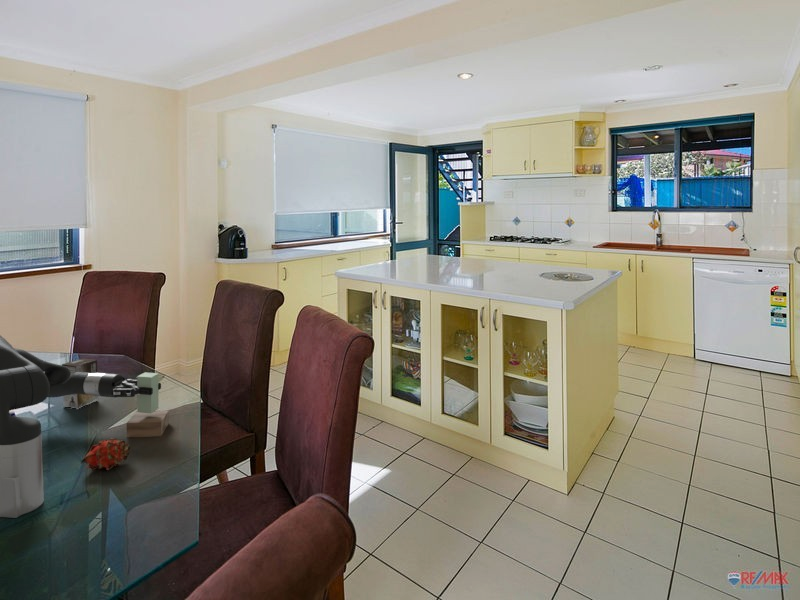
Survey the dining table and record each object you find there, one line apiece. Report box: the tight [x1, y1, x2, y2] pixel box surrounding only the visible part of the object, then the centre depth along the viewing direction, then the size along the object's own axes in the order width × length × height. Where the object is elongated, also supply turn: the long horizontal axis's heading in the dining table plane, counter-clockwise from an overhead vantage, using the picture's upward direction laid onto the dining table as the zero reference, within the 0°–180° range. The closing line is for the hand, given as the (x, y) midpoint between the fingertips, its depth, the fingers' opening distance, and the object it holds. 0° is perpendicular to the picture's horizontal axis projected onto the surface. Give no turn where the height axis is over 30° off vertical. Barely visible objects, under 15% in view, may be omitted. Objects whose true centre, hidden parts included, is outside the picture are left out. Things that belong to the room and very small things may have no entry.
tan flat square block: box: [126, 409, 170, 438], centre depth 156 cm, size 10×10×5 cm
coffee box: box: [61, 357, 99, 408], centre depth 172 cm, size 9×6×16 cm
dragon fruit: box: [80, 437, 131, 471], centre depth 131 cm, size 8×8×12 cm
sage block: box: [136, 371, 160, 413], centre depth 154 cm, size 4×4×12 cm
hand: (156, 388), depth 154 cm, fingers closed on sage block, 4 cm apart
